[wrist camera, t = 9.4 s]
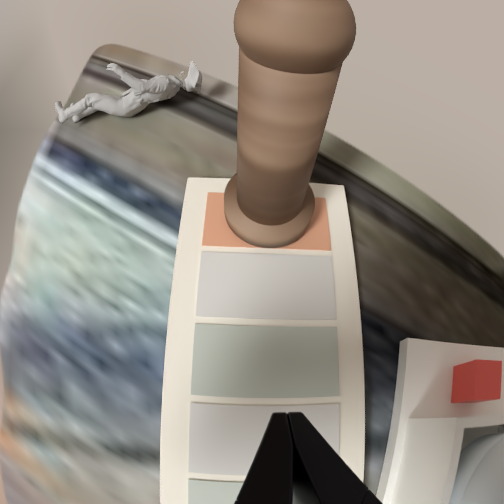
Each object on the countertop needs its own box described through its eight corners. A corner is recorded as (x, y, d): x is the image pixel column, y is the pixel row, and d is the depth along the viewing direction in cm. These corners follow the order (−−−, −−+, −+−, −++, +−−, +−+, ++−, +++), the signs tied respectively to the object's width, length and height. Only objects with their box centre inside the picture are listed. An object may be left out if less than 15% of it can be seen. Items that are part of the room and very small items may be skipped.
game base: (471, 539, 10) (522, 555, 5) (355, 562, 11) (393, 603, 6) (503, 351, 16) (558, 329, 11) (399, 341, 17) (453, 314, 12)
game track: (350, 554, 11) (356, 561, 10) (166, 557, 11) (162, 565, 10) (339, 194, 21) (344, 184, 20) (189, 187, 21) (187, 176, 20)
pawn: (313, 250, 18) (407, 16, 6) (221, 246, 17) (206, -11, 6) (307, 178, 20) (360, -28, 8) (227, 174, 20) (225, -43, 8)
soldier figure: (86, 105, 27) (195, 49, 25) (102, 147, 28) (213, 93, 26) (41, 101, 19) (174, 23, 18) (58, 154, 21) (197, 79, 19)
